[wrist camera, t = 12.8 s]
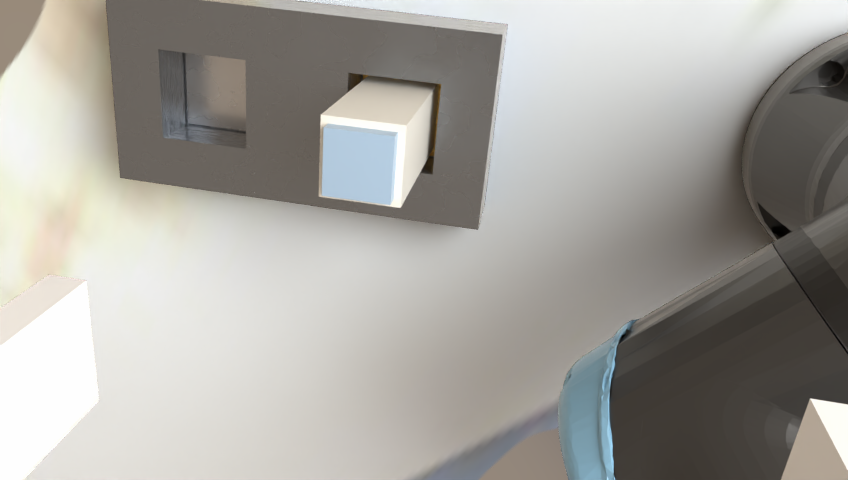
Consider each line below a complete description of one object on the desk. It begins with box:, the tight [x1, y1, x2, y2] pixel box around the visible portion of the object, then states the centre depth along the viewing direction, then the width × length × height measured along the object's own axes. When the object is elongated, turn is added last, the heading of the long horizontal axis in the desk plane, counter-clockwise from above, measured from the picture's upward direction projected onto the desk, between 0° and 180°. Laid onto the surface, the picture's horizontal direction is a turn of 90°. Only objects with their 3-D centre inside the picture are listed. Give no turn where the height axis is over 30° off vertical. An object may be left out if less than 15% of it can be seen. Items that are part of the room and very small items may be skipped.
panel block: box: [106, 0, 508, 230], centre depth 48 cm, size 24×12×4 cm, turn 85°
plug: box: [319, 75, 439, 208], centre depth 43 cm, size 4×4×12 cm
